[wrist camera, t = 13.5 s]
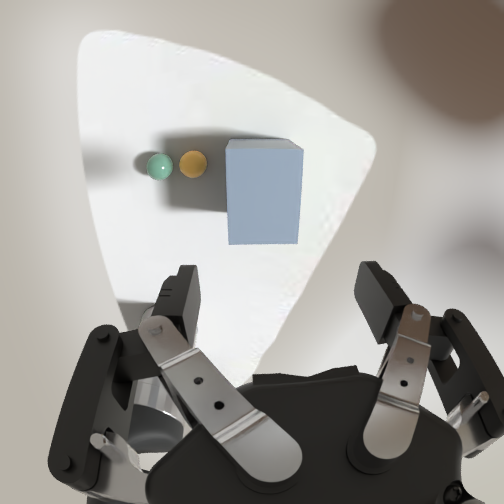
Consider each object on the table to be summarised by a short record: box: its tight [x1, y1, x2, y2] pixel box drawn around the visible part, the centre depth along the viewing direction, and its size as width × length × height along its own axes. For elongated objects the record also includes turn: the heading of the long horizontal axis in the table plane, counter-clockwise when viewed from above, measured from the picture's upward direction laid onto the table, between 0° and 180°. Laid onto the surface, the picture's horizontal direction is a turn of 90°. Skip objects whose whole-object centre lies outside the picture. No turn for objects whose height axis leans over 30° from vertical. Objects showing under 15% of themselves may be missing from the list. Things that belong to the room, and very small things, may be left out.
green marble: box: [146, 153, 173, 180], centre depth 28 cm, size 3×3×3 cm
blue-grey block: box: [225, 139, 304, 245], centre depth 27 cm, size 9×6×8 cm
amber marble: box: [179, 151, 207, 178], centre depth 28 cm, size 3×3×3 cm
